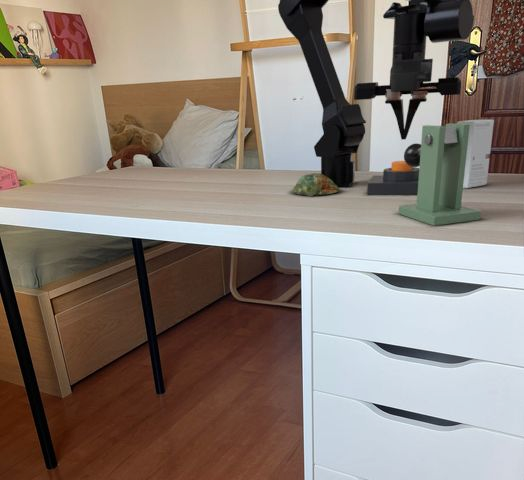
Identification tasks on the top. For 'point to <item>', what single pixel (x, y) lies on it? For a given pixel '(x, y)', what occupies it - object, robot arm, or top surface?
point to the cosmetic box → (478, 152)
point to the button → (400, 166)
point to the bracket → (441, 179)
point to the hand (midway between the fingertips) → (403, 139)
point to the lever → (415, 149)
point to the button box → (394, 183)
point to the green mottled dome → (314, 185)
